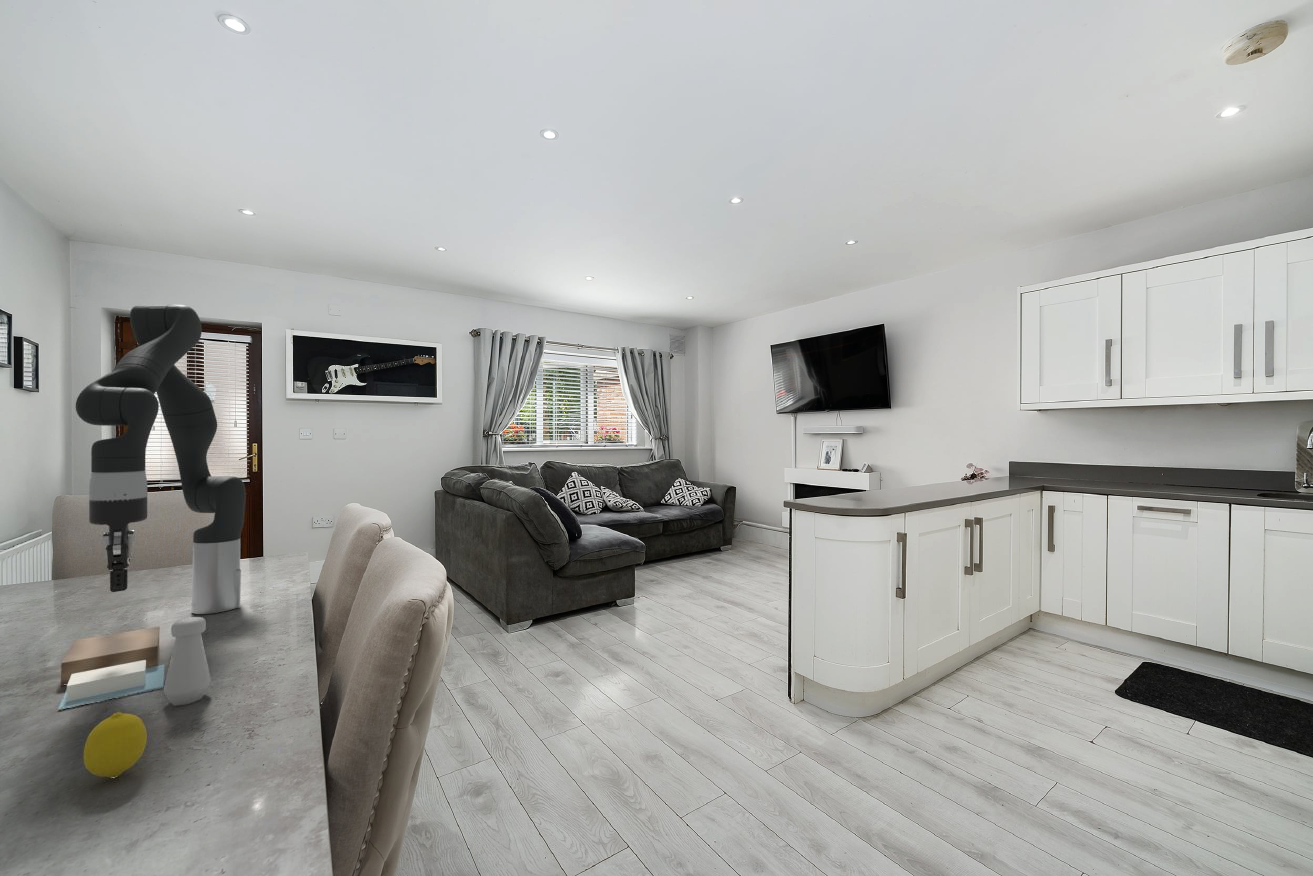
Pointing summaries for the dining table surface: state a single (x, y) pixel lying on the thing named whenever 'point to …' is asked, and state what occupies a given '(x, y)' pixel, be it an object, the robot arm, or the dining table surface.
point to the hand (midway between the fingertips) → (119, 590)
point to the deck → (111, 651)
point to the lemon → (115, 745)
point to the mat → (152, 682)
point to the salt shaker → (187, 663)
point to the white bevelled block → (106, 680)
